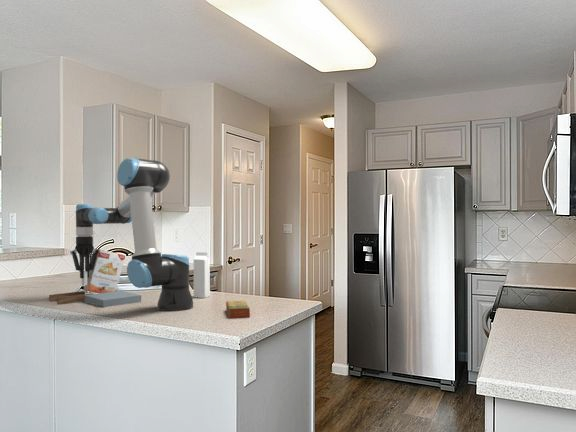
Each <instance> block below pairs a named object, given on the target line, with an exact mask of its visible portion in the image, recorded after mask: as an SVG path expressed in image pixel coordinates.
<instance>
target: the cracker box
mask: <svg viewBox="0 0 576 432" xmlns="http://www.w3.org/2000/svg"><path fill="white" fill-rule="evenodd" d="M95 249H96V250H98V253H97V255H96V259H95V263H94V267H93V269H92V270H90V271H89V278H87V285H84V287H83V291H85V292H89V293H95V294H98V293H106V292H115V291H117V288H118V285H119V280H120V277H121V274H122V269H123V266H124V263H125V259H126V255H125V254H120V253H117V252H112V251H109V250H104V249H99V248H95Z"/></svg>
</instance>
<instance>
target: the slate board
mask: <svg viewBox="0 0 576 432" xmlns="http://www.w3.org/2000/svg"><path fill="white" fill-rule="evenodd" d="M89 294H90V293H89ZM83 302H85V303H88V304H92V305H95V306H98V307H102V308H107V307H114V306H120V305H127V304H136V303H142V295H141V294H136V293H133V292H128V291H123V290H118V291H117V290H116V291H115V292H106V293H93V294H90V295H84V301H83Z"/></svg>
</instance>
